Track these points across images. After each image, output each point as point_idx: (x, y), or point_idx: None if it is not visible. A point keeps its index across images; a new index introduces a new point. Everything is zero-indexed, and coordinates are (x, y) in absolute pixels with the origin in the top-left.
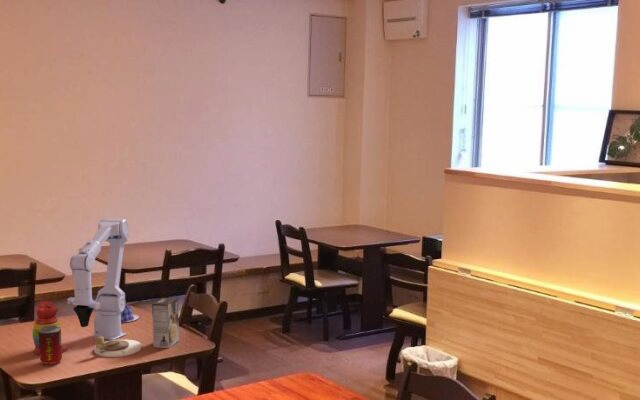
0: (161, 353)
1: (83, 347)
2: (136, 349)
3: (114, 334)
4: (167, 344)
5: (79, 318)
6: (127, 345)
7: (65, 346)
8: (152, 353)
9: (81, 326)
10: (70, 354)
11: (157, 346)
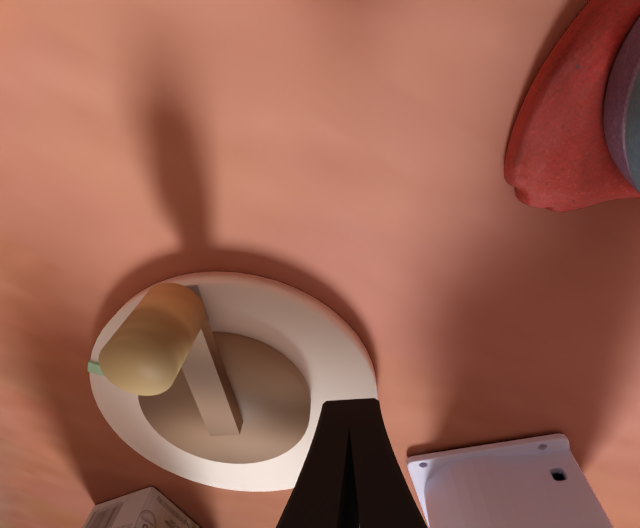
0: (39, 458)
1: (461, 305)
2: (112, 427)
3: (430, 495)
4: (89, 521)
5: (382, 517)
6: (160, 431)
7: (542, 199)
8: (63, 440)
9: (364, 401)
10: (409, 158)
11: (135, 495)
